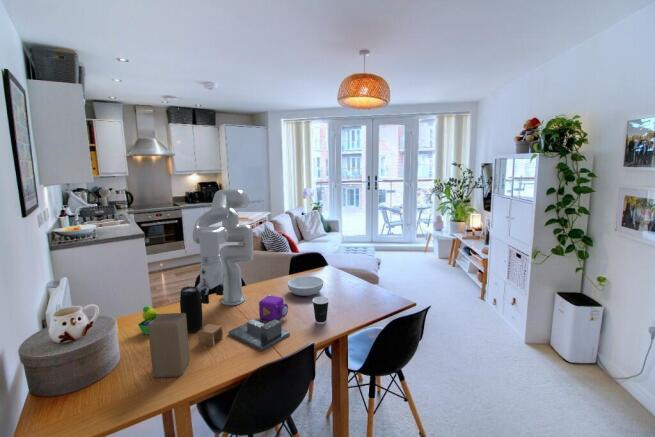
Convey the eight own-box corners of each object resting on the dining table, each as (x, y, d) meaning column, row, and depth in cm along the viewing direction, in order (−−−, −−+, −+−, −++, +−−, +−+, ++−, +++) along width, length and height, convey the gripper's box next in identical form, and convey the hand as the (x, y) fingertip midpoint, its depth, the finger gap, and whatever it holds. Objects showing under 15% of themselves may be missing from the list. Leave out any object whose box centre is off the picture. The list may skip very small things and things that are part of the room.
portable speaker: (206, 324, 155) (203, 285, 152) (197, 334, 146) (194, 292, 143) (188, 324, 155) (185, 284, 152) (178, 334, 146) (175, 292, 143)
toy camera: (284, 323, 155) (283, 303, 154) (257, 321, 158) (256, 301, 157) (291, 313, 166) (291, 294, 164) (266, 311, 169) (265, 293, 167)
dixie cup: (317, 316, 162) (317, 295, 161) (332, 320, 159) (331, 298, 157) (309, 323, 155) (309, 301, 154) (324, 327, 152) (324, 304, 150)
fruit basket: (151, 337, 144) (149, 313, 142) (135, 334, 146) (133, 310, 145) (171, 325, 154) (169, 302, 153) (155, 323, 157) (153, 300, 155)
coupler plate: (228, 334, 146) (227, 318, 144) (256, 321, 158) (256, 306, 157) (261, 351, 132) (261, 333, 131) (289, 335, 145) (289, 319, 144)
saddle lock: (199, 344, 138) (198, 330, 137) (209, 336, 144) (208, 323, 143) (213, 346, 136) (212, 333, 135) (222, 339, 142) (222, 326, 141)
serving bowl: (303, 284, 208) (303, 273, 206) (330, 291, 195) (330, 280, 194) (280, 294, 191) (279, 283, 190) (308, 303, 179) (308, 291, 178)
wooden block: (163, 362, 125) (159, 312, 122) (190, 360, 126) (186, 311, 123) (152, 379, 115) (146, 325, 112) (181, 377, 116) (177, 324, 113)
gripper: (205, 265, 127) (207, 308, 129) (230, 255, 143) (231, 292, 146) (188, 264, 129) (191, 306, 131) (215, 254, 146) (217, 291, 148)
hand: (212, 299), depth 139 cm, fingers open, 9 cm apart
